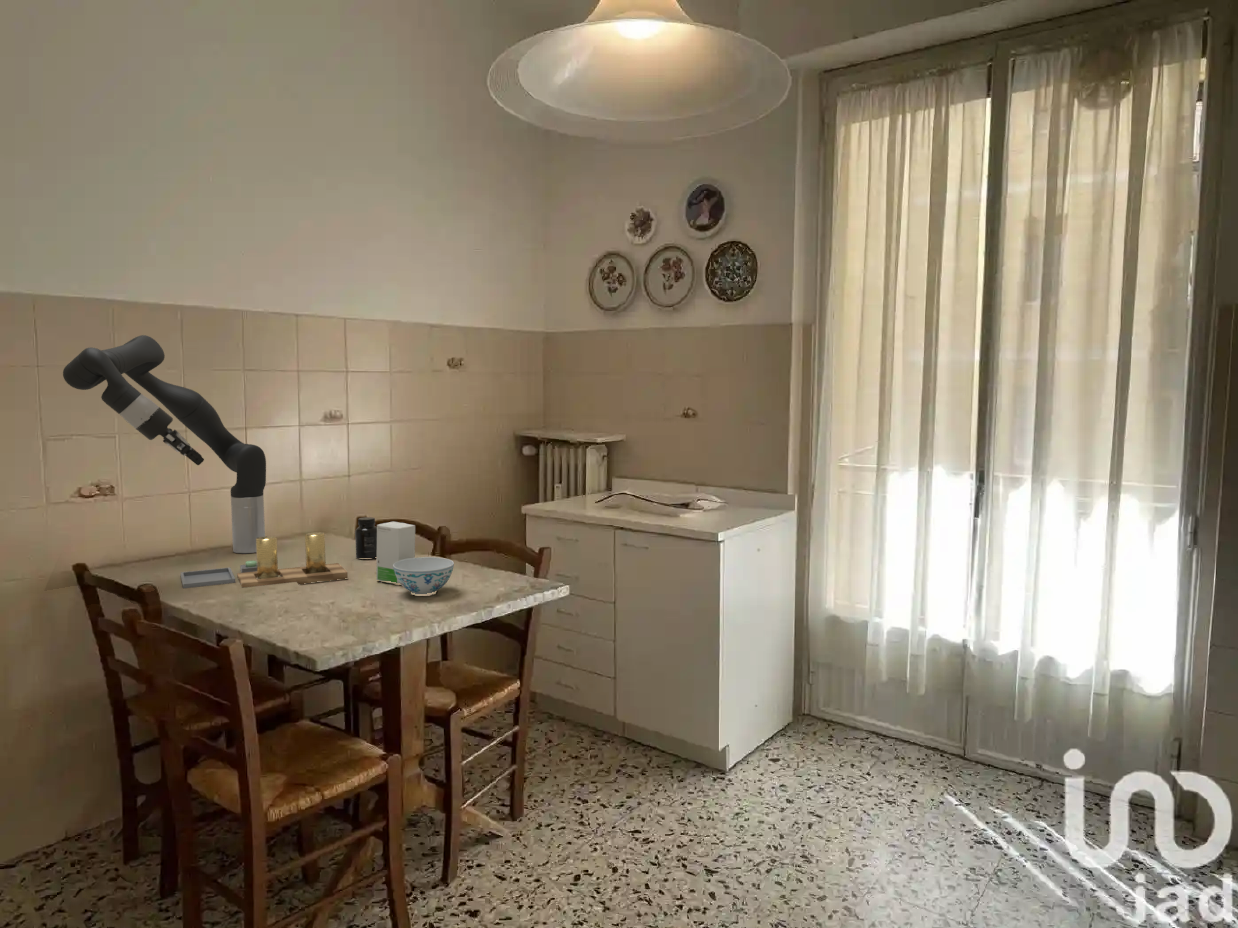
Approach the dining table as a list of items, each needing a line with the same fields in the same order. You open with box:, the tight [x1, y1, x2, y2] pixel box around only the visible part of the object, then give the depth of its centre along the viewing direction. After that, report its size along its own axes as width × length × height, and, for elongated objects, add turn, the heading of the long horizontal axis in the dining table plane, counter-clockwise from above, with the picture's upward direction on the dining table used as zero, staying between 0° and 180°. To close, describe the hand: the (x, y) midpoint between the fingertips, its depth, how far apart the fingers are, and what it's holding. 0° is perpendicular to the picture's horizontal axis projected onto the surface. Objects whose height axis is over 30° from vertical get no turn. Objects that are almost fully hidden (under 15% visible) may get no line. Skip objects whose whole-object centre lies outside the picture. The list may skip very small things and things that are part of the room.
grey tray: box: [180, 567, 236, 589], centre depth 216 cm, size 14×12×2 cm
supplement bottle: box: [354, 516, 377, 559], centre depth 247 cm, size 7×7×12 cm
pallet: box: [236, 562, 349, 588], centre depth 220 cm, size 12×26×2 cm, turn 120°
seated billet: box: [304, 531, 327, 574], centre depth 222 cm, size 5×5×12 cm
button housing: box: [239, 564, 257, 573], centre depth 225 cm, size 5×5×2 cm
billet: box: [256, 535, 279, 579], centre depth 216 cm, size 5×5×12 cm
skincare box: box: [375, 521, 416, 583], centre depth 219 cm, size 8×7×16 cm
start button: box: [244, 560, 257, 567], centre depth 224 cm, size 3×3×1 cm
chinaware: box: [393, 556, 455, 594], centre depth 208 cm, size 15×15×8 cm
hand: (200, 461), depth 209 cm, fingers open, 8 cm apart
